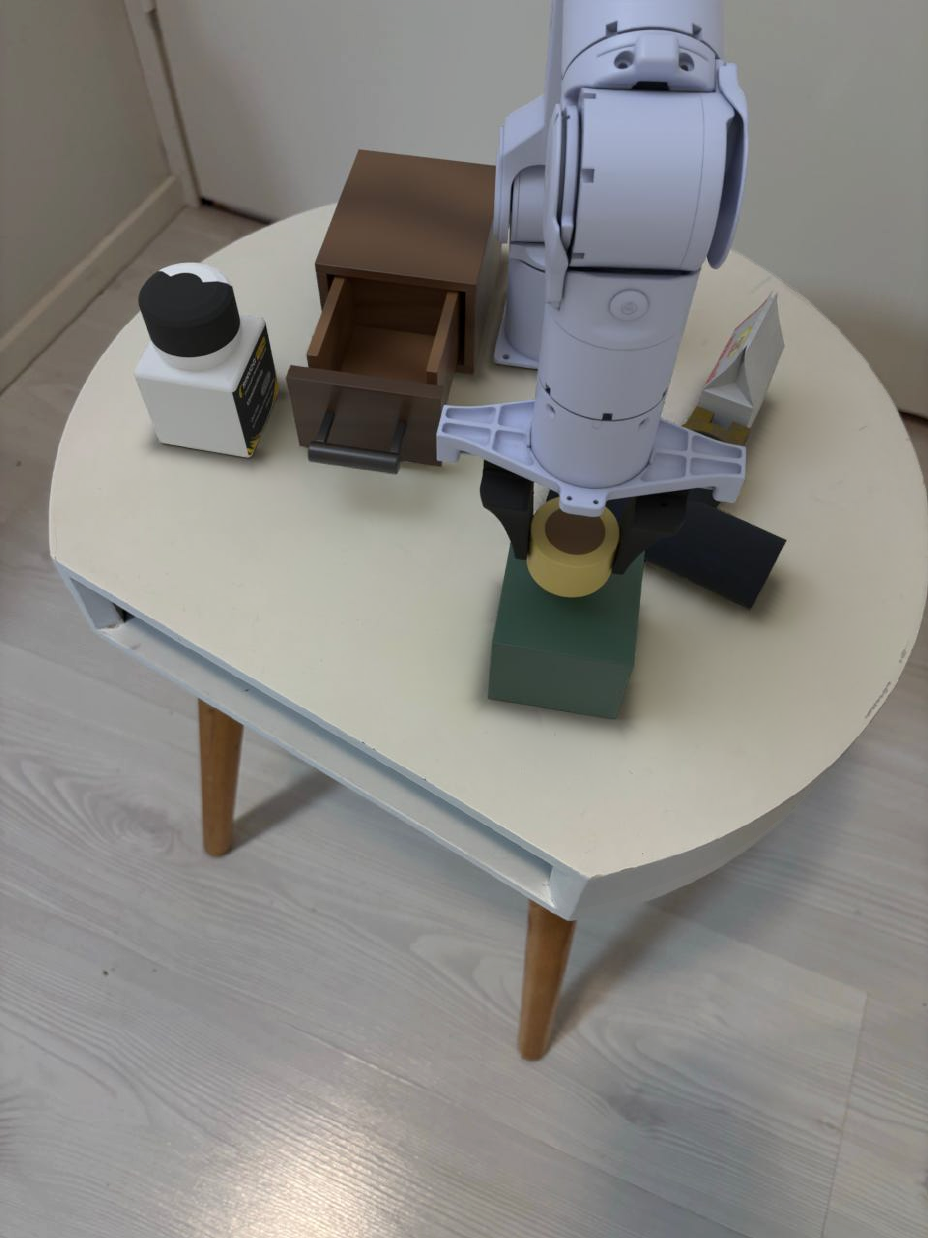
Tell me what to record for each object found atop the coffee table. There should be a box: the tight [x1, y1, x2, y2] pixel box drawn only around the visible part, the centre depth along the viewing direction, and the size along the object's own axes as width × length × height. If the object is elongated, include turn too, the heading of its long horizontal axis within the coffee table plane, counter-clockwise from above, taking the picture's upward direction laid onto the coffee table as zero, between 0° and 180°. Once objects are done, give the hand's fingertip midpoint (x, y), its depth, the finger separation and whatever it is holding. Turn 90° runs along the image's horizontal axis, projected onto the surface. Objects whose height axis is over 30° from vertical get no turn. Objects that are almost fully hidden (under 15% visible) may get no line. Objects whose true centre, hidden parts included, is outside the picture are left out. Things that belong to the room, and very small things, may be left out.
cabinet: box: [314, 148, 503, 376], centre depth 75 cm, size 14×12×9 cm
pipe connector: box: [545, 405, 788, 611], centre depth 65 cm, size 12×5×15 cm
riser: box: [487, 542, 645, 720], centre depth 59 cm, size 8×8×7 cm
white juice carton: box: [696, 289, 786, 431], centre depth 68 cm, size 4×7×10 cm, turn 152°
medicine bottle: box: [133, 262, 280, 458], centre depth 67 cm, size 7×7×12 cm
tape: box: [527, 497, 620, 597], centre depth 53 cm, size 5×5×3 cm
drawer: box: [285, 275, 463, 475], centre depth 68 cm, size 17×10×7 cm, turn 170°
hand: (570, 552), depth 53 cm, fingers closed on tape, 5 cm apart
